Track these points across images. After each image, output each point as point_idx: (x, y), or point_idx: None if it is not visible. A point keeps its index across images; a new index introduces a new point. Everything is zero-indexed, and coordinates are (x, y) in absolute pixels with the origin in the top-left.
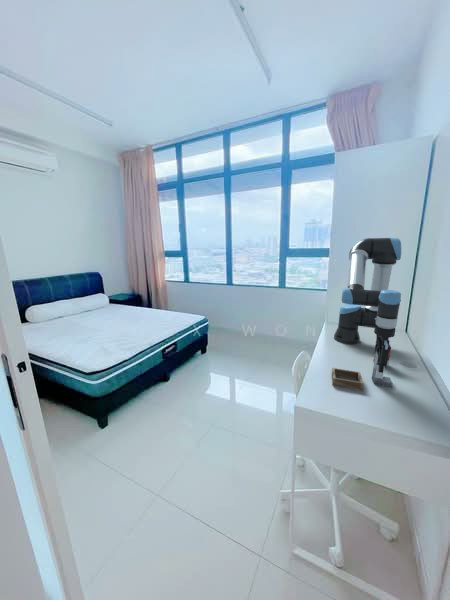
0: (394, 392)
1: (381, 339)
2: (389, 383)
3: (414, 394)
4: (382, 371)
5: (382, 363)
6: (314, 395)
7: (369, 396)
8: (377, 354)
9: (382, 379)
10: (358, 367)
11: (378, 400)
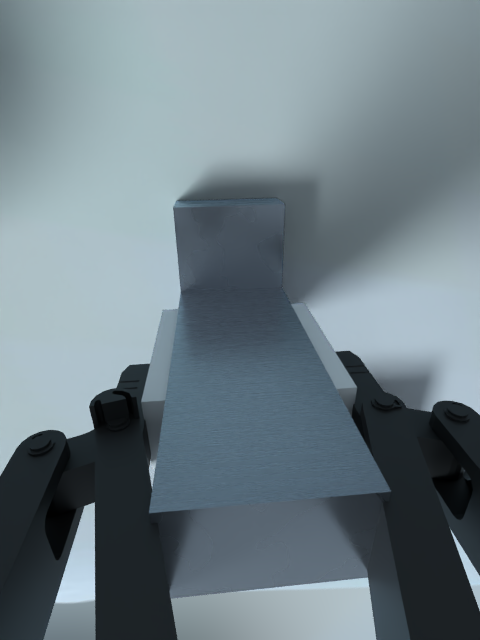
0: (353, 194)
1: None
2: (283, 228)
3: (344, 8)
4: (359, 364)
5: (462, 469)
6: (462, 556)
7: (437, 361)
8: (311, 579)
9: (243, 279)
10: (34, 399)
11: (474, 319)
